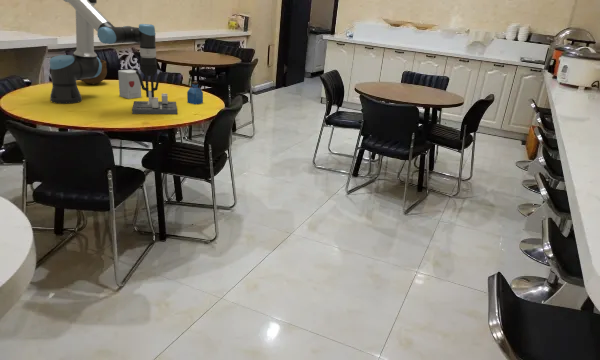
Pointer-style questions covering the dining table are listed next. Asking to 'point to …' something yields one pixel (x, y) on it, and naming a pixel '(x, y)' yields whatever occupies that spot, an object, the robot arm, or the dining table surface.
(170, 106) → the console
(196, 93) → the perfume bottle
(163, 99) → the fader
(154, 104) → the fader
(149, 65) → the robot arm
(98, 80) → the bowl
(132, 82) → the supplement box
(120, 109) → the dining table surface
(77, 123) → the dining table surface
